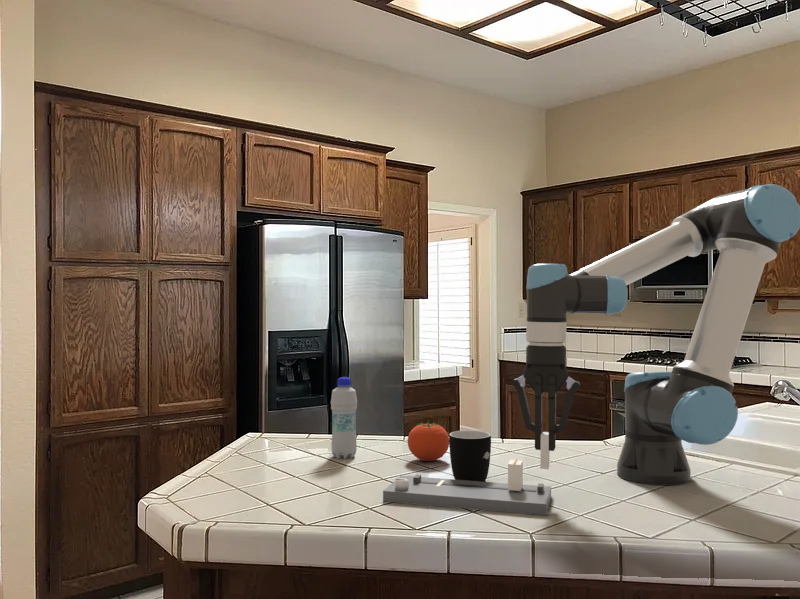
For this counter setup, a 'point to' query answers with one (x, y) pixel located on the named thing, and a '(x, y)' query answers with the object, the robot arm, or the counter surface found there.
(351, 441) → the bottle
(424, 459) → the tomato
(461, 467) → the mug
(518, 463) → the fader tab
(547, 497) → the console
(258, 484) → the counter surface
